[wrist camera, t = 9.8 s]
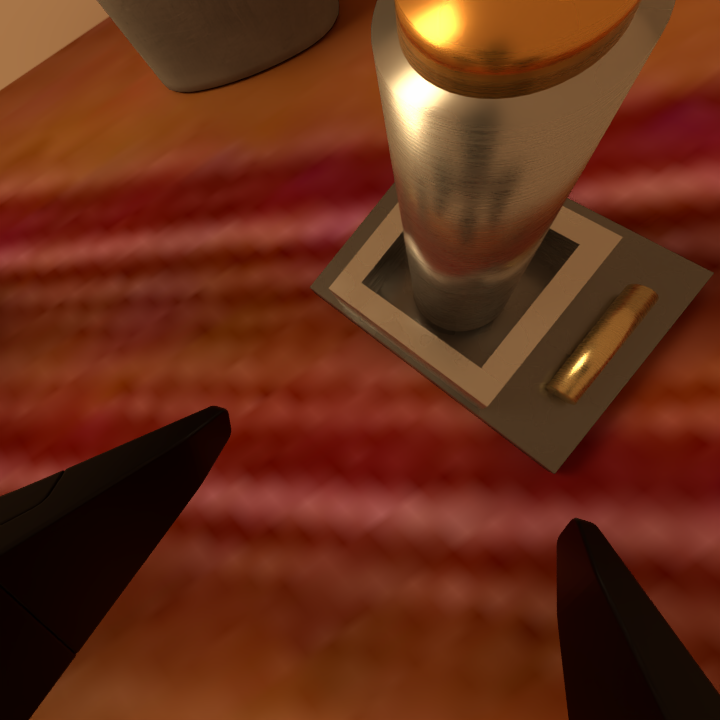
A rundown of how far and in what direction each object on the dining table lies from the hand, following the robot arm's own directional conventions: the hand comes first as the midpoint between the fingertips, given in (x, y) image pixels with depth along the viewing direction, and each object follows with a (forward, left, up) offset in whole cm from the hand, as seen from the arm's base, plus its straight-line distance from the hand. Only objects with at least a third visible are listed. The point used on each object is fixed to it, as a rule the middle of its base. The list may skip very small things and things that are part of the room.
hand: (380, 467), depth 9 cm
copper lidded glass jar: (+3, -8, -9) cm, 13 cm away
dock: (+2, -9, -10) cm, 14 cm away
